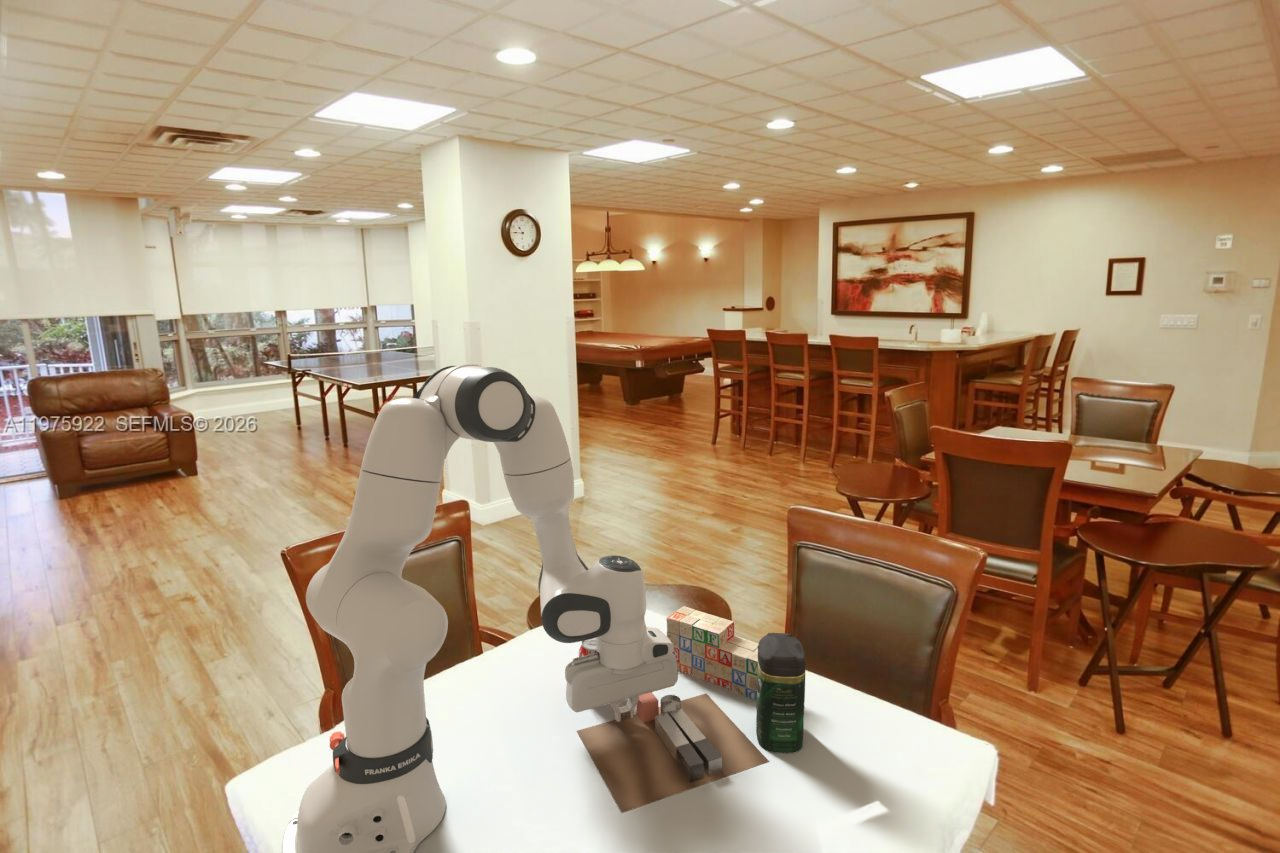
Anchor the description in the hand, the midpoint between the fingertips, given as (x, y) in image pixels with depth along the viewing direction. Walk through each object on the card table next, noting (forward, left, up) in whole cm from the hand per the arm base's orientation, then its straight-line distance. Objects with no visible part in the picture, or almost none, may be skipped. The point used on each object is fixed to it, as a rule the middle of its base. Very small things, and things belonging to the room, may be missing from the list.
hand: (623, 718), depth 122 cm
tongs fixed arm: (+8, -11, -1) cm, 14 cm away
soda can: (-1, +11, -2) cm, 11 cm away
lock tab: (+5, 0, -1) cm, 5 cm away
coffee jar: (+23, -14, -2) cm, 27 cm away
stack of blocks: (+23, +6, -3) cm, 24 cm away
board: (+5, -9, -2) cm, 10 cm away
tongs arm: (+7, -9, -1) cm, 12 cm away
